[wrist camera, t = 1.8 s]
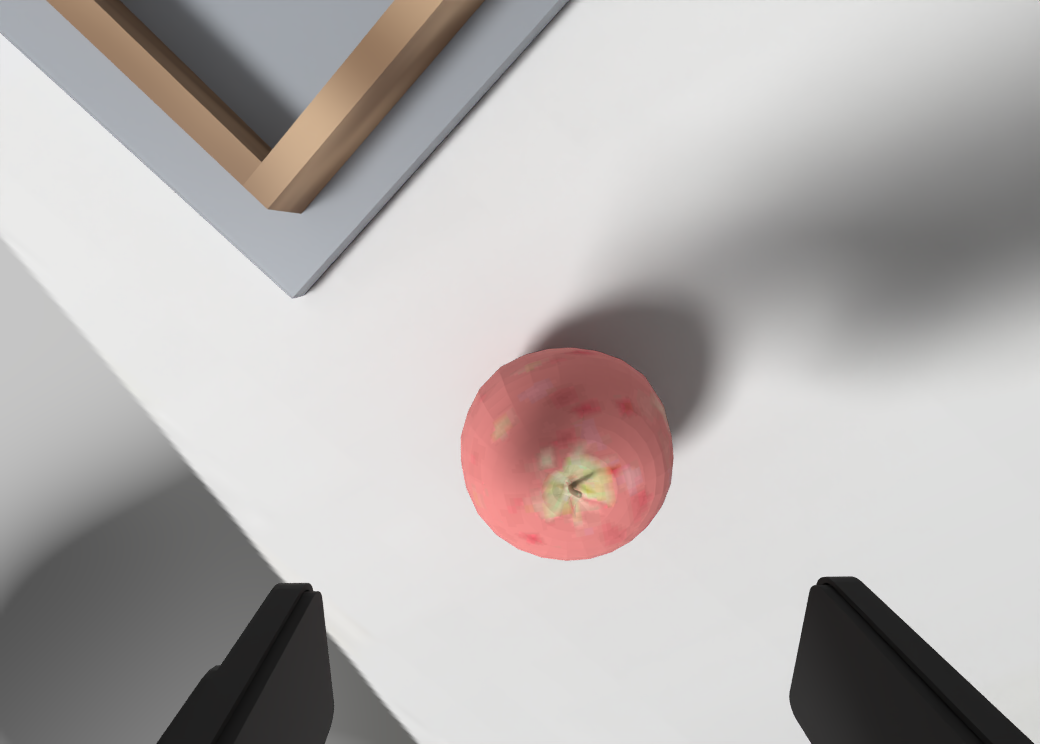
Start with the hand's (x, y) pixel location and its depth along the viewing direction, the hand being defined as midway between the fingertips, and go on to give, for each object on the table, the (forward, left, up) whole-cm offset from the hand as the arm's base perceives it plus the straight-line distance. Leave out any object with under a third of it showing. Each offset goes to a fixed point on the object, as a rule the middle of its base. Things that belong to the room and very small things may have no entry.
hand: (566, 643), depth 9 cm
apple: (-1, 0, -13) cm, 13 cm away
